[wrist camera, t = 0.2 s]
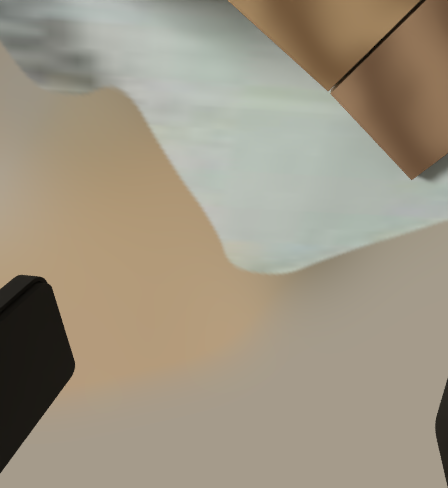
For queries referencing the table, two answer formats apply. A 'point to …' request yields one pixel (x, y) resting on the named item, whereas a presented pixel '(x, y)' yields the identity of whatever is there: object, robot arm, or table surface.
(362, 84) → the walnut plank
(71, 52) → the table surface
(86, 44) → the table surface
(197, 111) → the table surface
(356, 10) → the oak plank
